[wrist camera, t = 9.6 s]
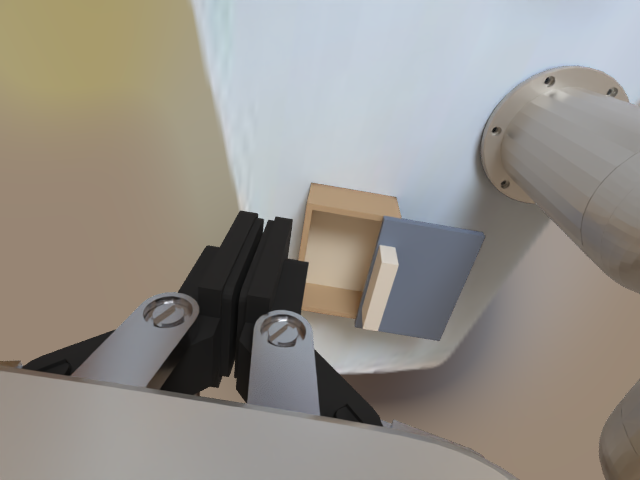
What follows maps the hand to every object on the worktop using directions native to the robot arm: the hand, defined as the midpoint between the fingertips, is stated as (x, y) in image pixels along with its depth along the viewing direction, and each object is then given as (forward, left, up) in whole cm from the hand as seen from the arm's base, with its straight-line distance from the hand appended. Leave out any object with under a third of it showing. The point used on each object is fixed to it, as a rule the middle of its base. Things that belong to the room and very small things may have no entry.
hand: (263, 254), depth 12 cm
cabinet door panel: (-12, +15, -22) cm, 29 cm away
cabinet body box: (-5, +15, -27) cm, 31 cm away
